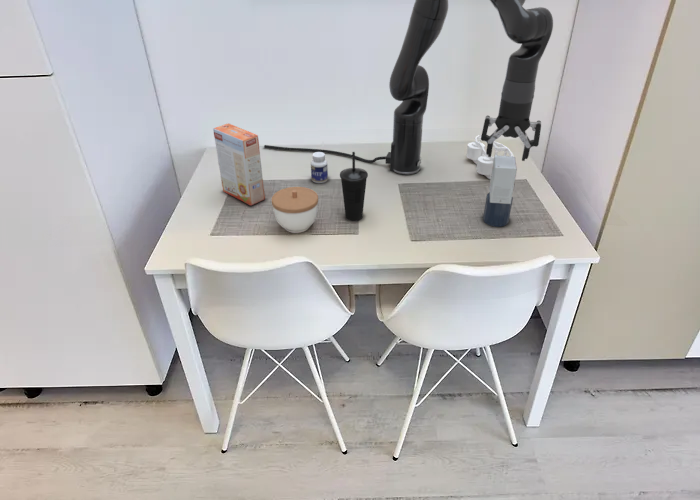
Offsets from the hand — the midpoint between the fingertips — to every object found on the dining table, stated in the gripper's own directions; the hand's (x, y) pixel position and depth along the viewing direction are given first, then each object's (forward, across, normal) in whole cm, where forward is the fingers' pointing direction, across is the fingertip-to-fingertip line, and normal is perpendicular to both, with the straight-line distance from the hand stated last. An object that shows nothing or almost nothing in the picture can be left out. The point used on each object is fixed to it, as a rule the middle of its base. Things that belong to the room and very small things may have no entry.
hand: (506, 157), depth 140 cm
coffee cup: (+19, 0, 0) cm, 19 cm away
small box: (+12, 0, 0) cm, 12 cm away
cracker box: (+20, +75, +6) cm, 78 cm away
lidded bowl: (+20, +53, +18) cm, 59 cm away
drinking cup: (+20, +39, +9) cm, 44 cm away
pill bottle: (+20, +56, -10) cm, 60 cm away
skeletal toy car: (+20, +5, -33) cm, 39 cm away
